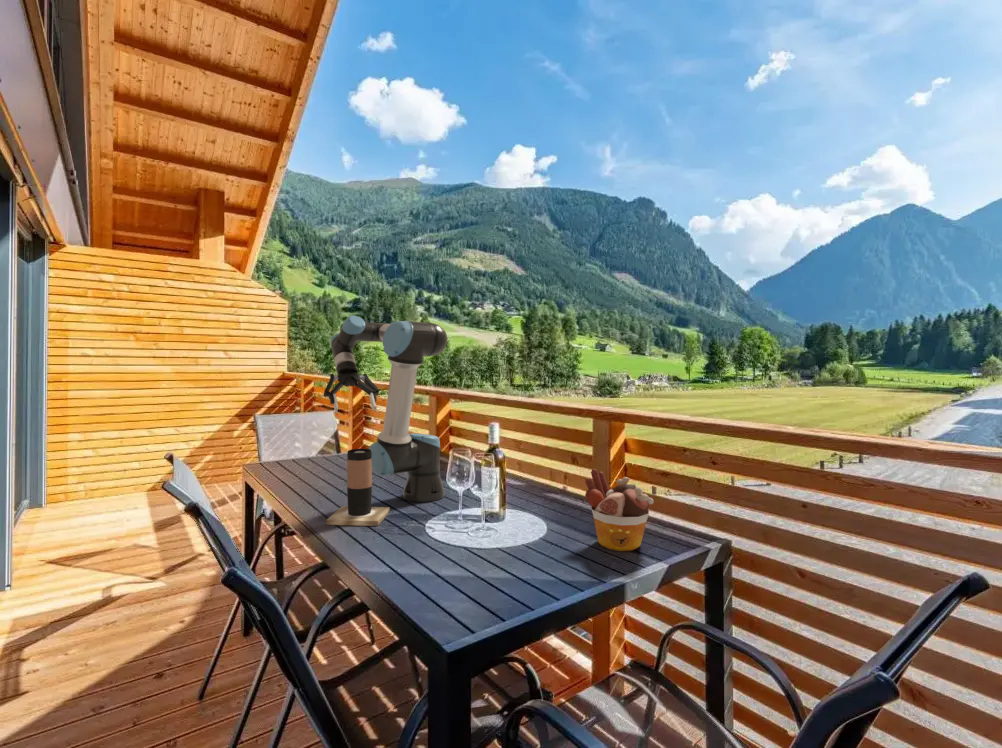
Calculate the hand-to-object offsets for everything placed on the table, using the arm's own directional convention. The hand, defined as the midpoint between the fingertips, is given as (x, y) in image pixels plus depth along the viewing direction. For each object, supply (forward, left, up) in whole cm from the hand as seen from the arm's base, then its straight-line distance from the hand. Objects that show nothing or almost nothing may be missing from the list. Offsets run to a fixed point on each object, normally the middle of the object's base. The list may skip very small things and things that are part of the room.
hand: (355, 409), depth 185 cm
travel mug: (-9, +23, -31) cm, 39 cm away
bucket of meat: (-87, +40, -33) cm, 102 cm away
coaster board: (-8, +23, -32) cm, 41 cm away
